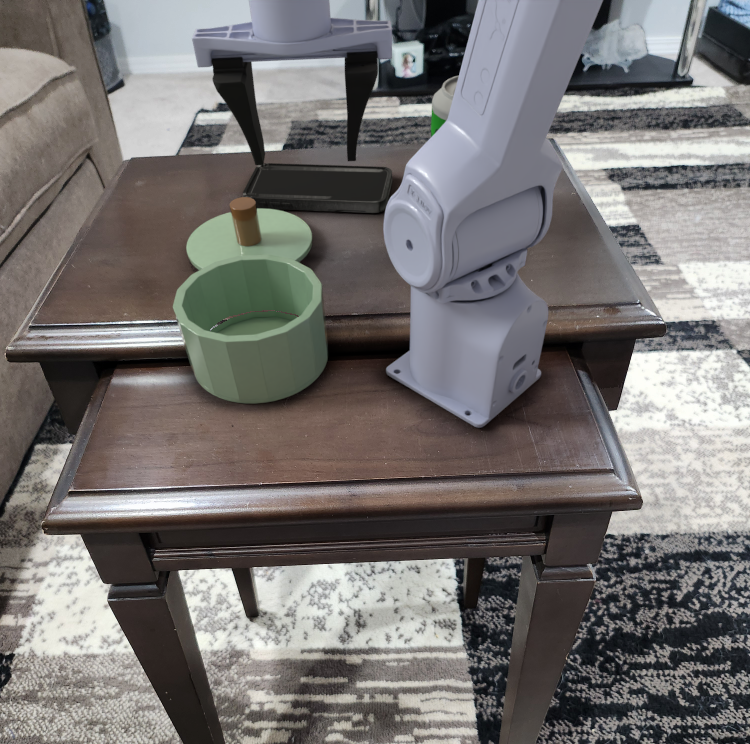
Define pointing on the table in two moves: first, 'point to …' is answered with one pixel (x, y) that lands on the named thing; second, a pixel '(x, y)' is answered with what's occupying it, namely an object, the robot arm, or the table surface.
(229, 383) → the pot
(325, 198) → the phone
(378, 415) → the table surface
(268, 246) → the pot lid
